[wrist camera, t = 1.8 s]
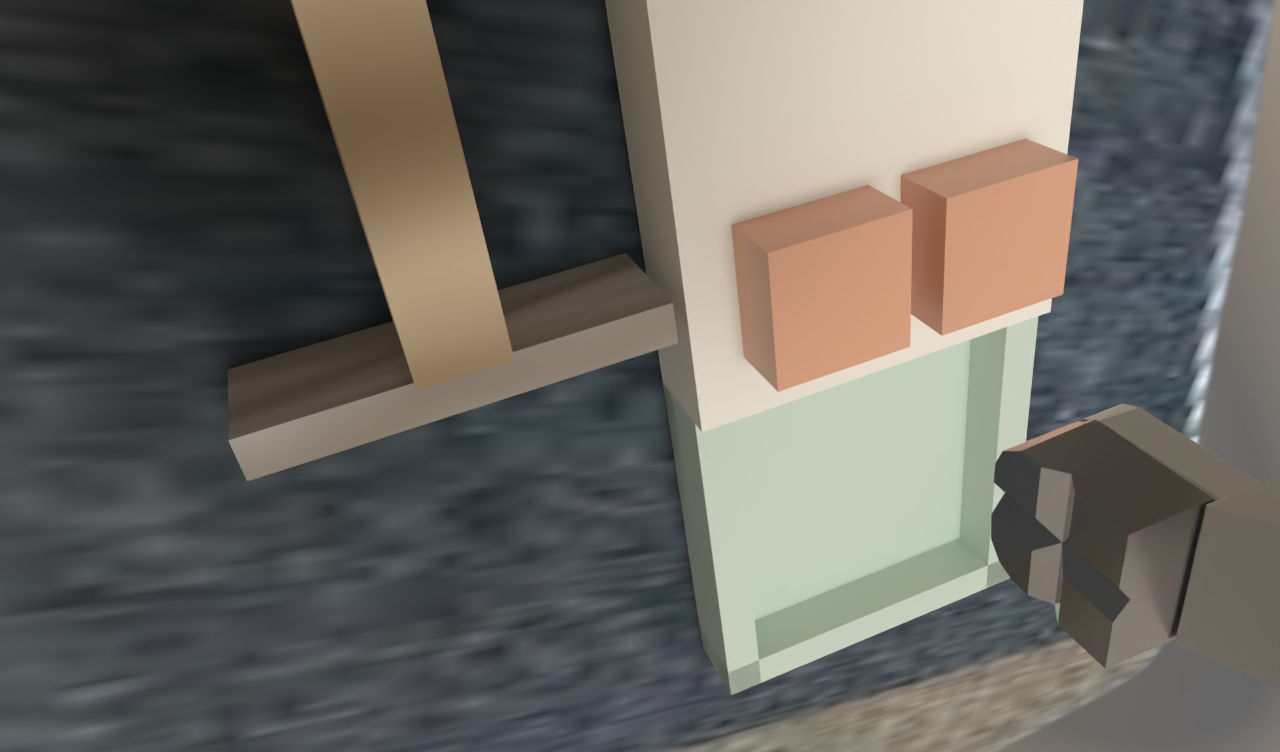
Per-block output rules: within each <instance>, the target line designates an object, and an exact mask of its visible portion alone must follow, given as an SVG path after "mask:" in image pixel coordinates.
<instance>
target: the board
mask: <svg viewBox="0 0 1280 752" xmlns="http://www.w3.org/2000/svg"><path fill="white" fill-rule="evenodd" d="M1083 1H1084V0H605V4H606V11H607V18H608V24H609V31H610V37H611V44H612V51H613V57H614V64H615V70H616V77H617V84H618V90H619V97H620V104H621V110H622V117H623V123H624V130H625V137H626V143H627V150H628V157H629V163H630V170H631V176H632V183H633V190H634V196H635V203H636V209H637V216H638V223H639V229H640V236H641V243H642V249H643V256H644V262H645V269H646V275H647V276H648V277H649V278H650V279H651V280H652V281H653V282H654V283H655V285H656V286H657V287H658V288H659V289H660V290H661V291H662V292H663V293H664V294H665V295H666V296H667V297H668V298H669V299H670V300H671V301H672V302H673V308H674V315H675V322H676V330H677V337H678V343H677V344H674V345H671V346H667V347H664V348H661V349H658V355H659V362H660V368H661V375H662V382H663V384H664V385H665V386H666V388H667V389H668V390H669V391H670V393H671V394H672V395H673V397H674V398H675V399H676V400H677V402H678V403H679V404H680V405H681V407H682V408H683V409H684V410H685V412H686V413H687V414H688V415H689V417H690V418H691V419H692V420H693V422H694V423H695V424H696V425H697V427H698V428H699V429H700V431H701V432H705V431H708V430H711V429H713V428H716V427H719V426H722V425H725V424H728V423H731V422H734V421H737V420H739V419H742V418H745V417H748V416H751V415H754V414H757V413H760V412H763V411H765V410H768V409H771V408H774V407H777V406H780V405H783V404H786V403H789V402H791V401H794V400H797V399H800V398H803V397H806V396H809V395H812V394H815V393H817V392H820V391H823V390H826V389H829V388H832V387H835V386H838V385H840V384H843V383H846V382H849V381H852V380H855V379H858V378H861V377H864V376H866V375H869V374H872V373H875V372H878V371H881V370H884V369H887V368H890V367H892V366H895V365H898V364H901V363H904V362H907V361H910V360H913V359H916V358H918V357H921V356H924V355H927V354H930V353H933V352H936V351H939V350H942V349H944V348H947V347H950V346H953V345H956V344H959V343H962V342H965V341H968V340H970V339H973V338H976V337H979V336H982V335H985V334H988V333H991V332H993V331H996V330H999V329H1002V328H1005V327H1008V326H1011V325H1014V324H1017V323H1019V322H1022V321H1025V320H1028V319H1031V318H1034V317H1037V316H1040V315H1043V314H1045V313H1048V312H1050V311H1051V301H1052V298H1051V299H1048V300H1045V301H1042V302H1039V303H1036V304H1033V305H1030V306H1027V307H1025V308H1022V309H1019V310H1016V311H1013V312H1010V313H1007V314H1004V315H1001V316H998V317H995V318H992V319H990V320H987V321H984V322H981V323H978V324H975V325H972V326H969V327H966V328H963V329H960V330H957V331H954V332H952V333H949V334H946V335H943V336H941V335H940V334H939V333H937V332H936V331H934V330H933V329H931V328H930V327H929V326H927V325H926V324H924V323H923V322H922V321H920V320H919V319H917V318H916V317H914V316H913V315H912V314H911V333H910V347H908V348H905V349H902V350H899V351H896V352H893V353H890V354H887V355H884V356H882V357H879V358H876V359H873V360H870V361H867V362H864V363H861V364H858V365H855V366H852V367H849V368H846V369H844V370H841V371H838V372H835V373H832V374H829V375H826V376H823V377H820V378H817V379H814V380H811V381H809V382H806V383H803V384H800V385H797V386H794V387H791V388H788V389H785V390H782V391H779V392H777V391H776V390H775V389H774V387H773V386H772V385H771V384H770V383H769V382H768V381H767V380H766V379H765V378H764V377H763V376H762V375H761V374H760V373H759V372H758V371H757V370H756V369H755V368H754V367H753V366H752V365H751V364H750V363H749V362H748V361H747V360H746V359H745V358H744V353H743V343H742V332H741V322H740V311H739V300H738V290H737V279H736V269H735V258H734V247H733V237H732V226H731V225H733V224H736V223H740V222H743V221H746V220H750V219H753V218H757V217H760V216H763V215H767V214H770V213H774V212H777V211H780V210H784V209H787V208H791V207H794V206H797V205H801V204H804V203H808V202H811V201H814V200H818V199H821V198H825V197H828V196H832V195H835V194H838V193H842V192H845V191H849V190H852V189H855V188H859V187H862V186H866V185H870V186H871V187H873V188H875V189H877V190H879V191H880V192H882V193H884V194H886V195H888V196H890V197H891V198H893V199H895V200H897V201H899V202H900V203H901V175H903V174H906V173H910V172H913V171H917V170H920V169H924V168H927V167H930V166H934V165H937V164H941V163H944V162H947V161H951V160H954V159H958V158H961V157H964V156H968V155H971V154H975V153H978V152H981V151H985V150H988V149H992V148H995V147H998V146H1002V145H1005V144H1009V143H1012V142H1015V141H1019V140H1022V139H1028V140H1031V141H1033V142H1036V143H1039V144H1041V145H1044V146H1046V147H1049V148H1052V149H1054V150H1057V151H1059V152H1062V153H1065V154H1067V151H1068V142H1069V132H1070V123H1071V113H1072V104H1073V95H1074V85H1075V76H1076V66H1077V57H1078V48H1079V38H1080V29H1081V20H1082V10H1083Z"/></svg>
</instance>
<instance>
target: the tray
mask: <svg viewBox="0 0 1280 752" xmlns="http://www.w3.org/2000/svg"><path fill="white" fill-rule="evenodd" d="M1037 324H1038V316H1037V317H1034V318H1031V319H1028V320H1025V321H1022V322H1019V323H1017V324H1014V325H1011V326H1008V327H1005V328H1002V329H999V330H996V331H993V332H991V333H988V334H985V335H982V336H979V337H976V338H973V339H970V340H968V341H965V342H962V343H959V344H956V345H953V346H950V347H947V348H944V349H942V350H939V351H936V352H933V353H930V354H927V355H924V356H921V357H918V358H916V359H913V360H910V361H907V362H904V363H901V364H898V365H895V366H892V367H890V368H887V369H884V370H881V371H878V372H875V373H872V374H869V375H866V376H864V377H861V378H858V379H855V380H852V381H849V382H846V383H843V384H840V385H838V386H835V387H832V388H829V389H826V390H823V391H820V392H817V393H815V394H812V395H809V396H806V397H803V398H800V399H797V400H794V401H791V402H789V403H786V404H783V405H780V406H777V407H774V408H771V409H768V410H765V411H763V412H760V413H757V414H754V415H751V416H748V417H745V418H742V419H739V420H737V421H734V422H731V423H728V424H725V425H722V426H719V427H716V428H713V429H711V430H708V431H705V432H701V431H700V429H699V428H698V427H697V425H696V424H695V423H694V422H693V420H692V419H691V418H690V417H689V415H688V414H687V413H686V412H685V410H684V409H683V408H682V407H681V405H680V404H679V403H678V402H677V400H676V399H675V398H674V397H673V395H672V394H671V393H670V391H669V390H668V389H667V388H666V386H665V385H664V384H663V388H664V395H665V401H666V408H667V415H668V421H669V428H670V435H671V441H672V448H673V454H674V461H675V468H676V474H677V481H678V487H679V494H680V501H681V507H682V514H683V521H684V527H685V534H686V540H687V547H688V554H689V560H690V567H691V574H692V580H693V587H694V593H695V600H696V607H697V613H698V620H699V626H700V633H701V640H702V646H703V648H704V650H705V652H706V653H707V655H708V657H709V658H710V660H711V662H712V664H713V665H714V667H715V669H716V670H717V672H718V674H719V675H720V677H721V679H722V681H723V682H724V684H725V686H726V687H727V689H728V691H729V693H730V694H731V695H733V694H735V693H738V692H740V691H742V690H745V689H747V688H750V687H752V686H754V685H757V684H759V683H761V682H764V681H766V680H769V679H771V678H773V677H776V676H778V675H780V674H783V673H785V672H788V671H790V670H792V669H795V668H797V667H800V666H802V665H804V664H807V663H809V662H811V661H814V660H816V659H819V658H821V657H823V656H826V655H828V654H831V653H833V652H835V651H838V650H840V649H842V648H845V647H847V646H850V645H852V644H854V643H857V642H859V641H862V640H864V639H866V638H869V637H871V636H873V635H876V634H878V633H881V632H883V631H885V630H888V629H890V628H893V627H895V626H897V625H900V624H902V623H904V622H907V621H909V620H912V619H914V618H916V617H919V616H921V615H924V614H926V613H928V612H931V611H933V610H935V609H938V608H940V607H943V606H945V605H947V604H950V603H952V602H954V601H957V600H959V599H962V598H964V597H966V596H969V595H971V594H974V593H976V592H978V591H981V590H983V589H985V588H988V587H990V586H993V585H995V584H997V583H1000V582H1002V581H1005V580H1007V579H1009V578H1010V577H1009V575H1008V574H1007V572H1006V571H1005V569H1004V568H1003V566H1002V565H1001V564H1000V562H999V559H998V557H997V554H996V551H995V548H994V546H993V543H992V540H991V514H992V512H993V511H994V509H995V508H996V506H997V504H998V503H999V501H1000V500H1001V498H1002V496H1003V495H1004V492H1003V491H1002V490H1001V489H1000V488H999V487H998V486H997V485H996V484H995V483H994V473H995V463H996V461H997V460H998V458H999V456H1000V455H1001V453H1002V451H1004V450H1007V449H1009V448H1012V447H1014V446H1017V445H1019V444H1022V443H1024V442H1026V435H1027V425H1028V414H1029V404H1030V394H1031V384H1032V374H1033V364H1034V354H1035V344H1036V334H1037Z"/></svg>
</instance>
